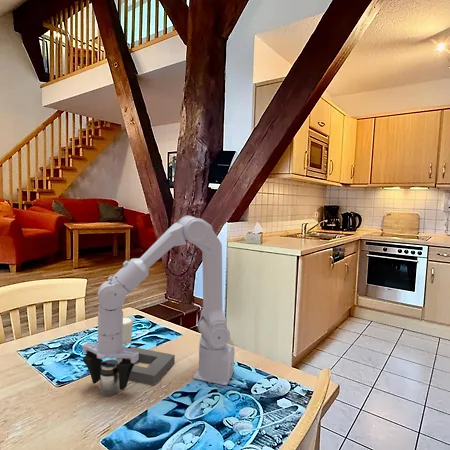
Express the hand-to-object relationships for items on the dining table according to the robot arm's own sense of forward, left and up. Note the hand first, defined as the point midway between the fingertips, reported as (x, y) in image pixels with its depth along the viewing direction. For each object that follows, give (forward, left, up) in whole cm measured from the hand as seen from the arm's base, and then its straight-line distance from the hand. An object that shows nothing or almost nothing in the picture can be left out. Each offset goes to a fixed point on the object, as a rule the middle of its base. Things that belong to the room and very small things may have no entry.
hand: (109, 384), depth 82 cm
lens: (0, 0, -2) cm, 2 cm away
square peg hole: (-2, -12, -2) cm, 12 cm away
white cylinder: (+13, -25, -2) cm, 28 cm away
